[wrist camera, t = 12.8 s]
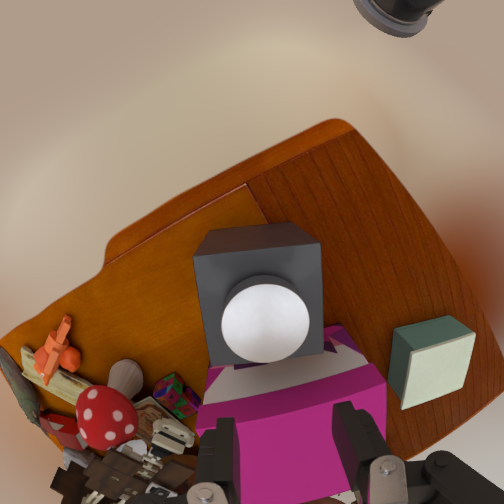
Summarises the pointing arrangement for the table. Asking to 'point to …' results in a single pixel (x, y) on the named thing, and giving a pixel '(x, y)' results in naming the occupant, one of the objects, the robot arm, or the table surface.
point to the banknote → (149, 417)
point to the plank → (55, 379)
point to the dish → (264, 319)
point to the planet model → (324, 501)
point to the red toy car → (63, 429)
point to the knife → (161, 490)
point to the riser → (253, 264)
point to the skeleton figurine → (127, 470)
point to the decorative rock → (79, 458)
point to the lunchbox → (419, 344)
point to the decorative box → (293, 418)
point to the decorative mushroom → (110, 408)
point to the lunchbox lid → (437, 370)
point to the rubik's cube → (176, 396)
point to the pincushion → (136, 447)
